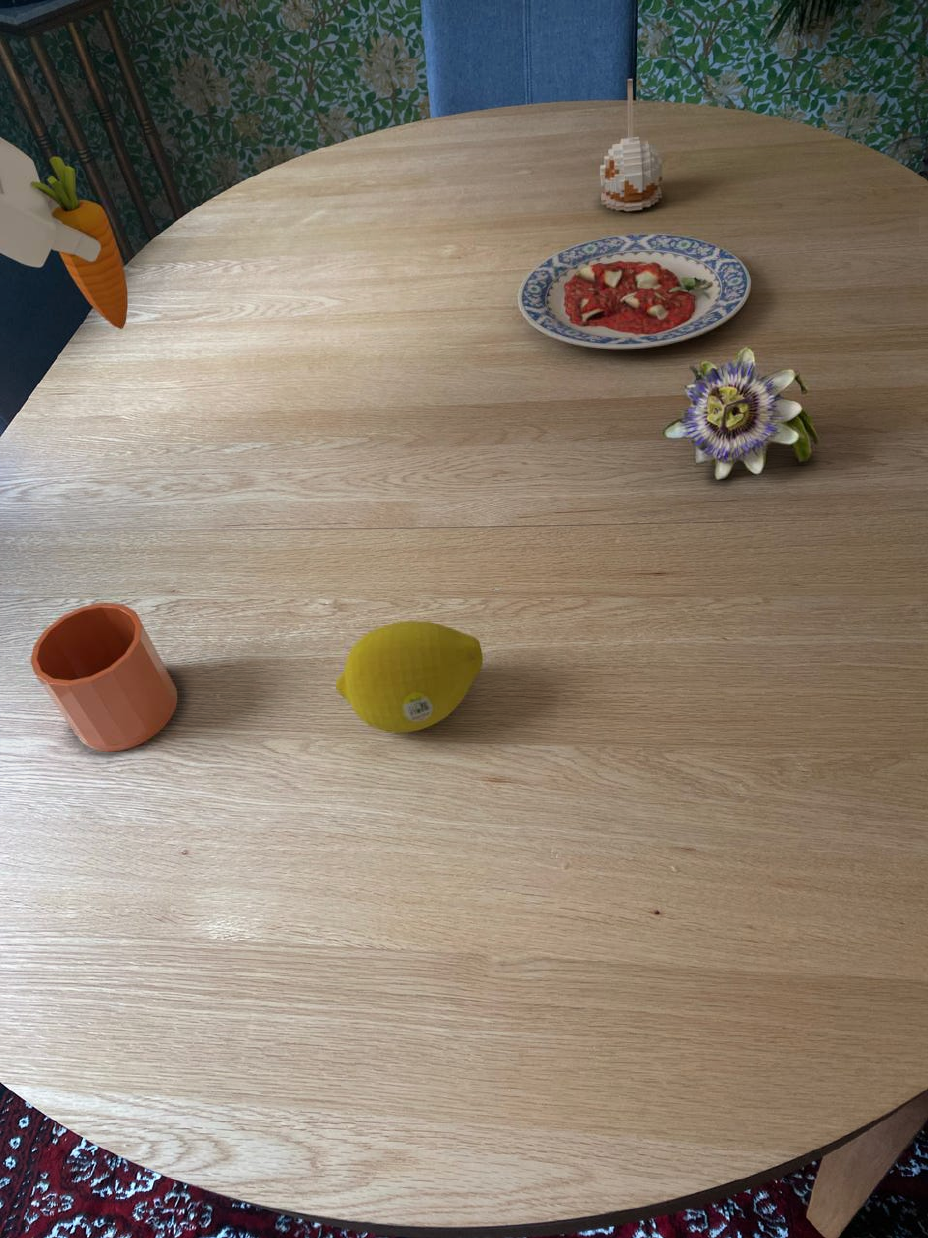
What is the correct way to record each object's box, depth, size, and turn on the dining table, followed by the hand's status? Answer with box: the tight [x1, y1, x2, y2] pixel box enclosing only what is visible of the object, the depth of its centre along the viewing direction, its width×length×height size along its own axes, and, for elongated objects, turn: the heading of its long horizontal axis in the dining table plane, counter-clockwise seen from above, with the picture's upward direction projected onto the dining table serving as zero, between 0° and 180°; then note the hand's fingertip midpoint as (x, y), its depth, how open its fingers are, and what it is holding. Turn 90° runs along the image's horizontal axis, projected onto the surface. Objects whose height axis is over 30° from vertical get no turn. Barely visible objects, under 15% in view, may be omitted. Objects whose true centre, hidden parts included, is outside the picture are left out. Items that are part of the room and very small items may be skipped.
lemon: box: [335, 620, 484, 734], centre depth 71 cm, size 11×8×8 cm
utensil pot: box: [30, 602, 178, 753], centre depth 75 cm, size 8×8×8 cm
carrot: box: [31, 156, 129, 330], centre depth 86 cm, size 5×5×15 cm
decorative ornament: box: [599, 78, 663, 212], centre depth 125 cm, size 8×8×15 cm
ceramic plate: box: [517, 233, 752, 350], centre depth 111 cm, size 26×26×3 cm
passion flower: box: [662, 345, 820, 481], centre depth 88 cm, size 11×11×12 cm
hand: (92, 238), depth 85 cm, fingers closed on carrot, 5 cm apart
